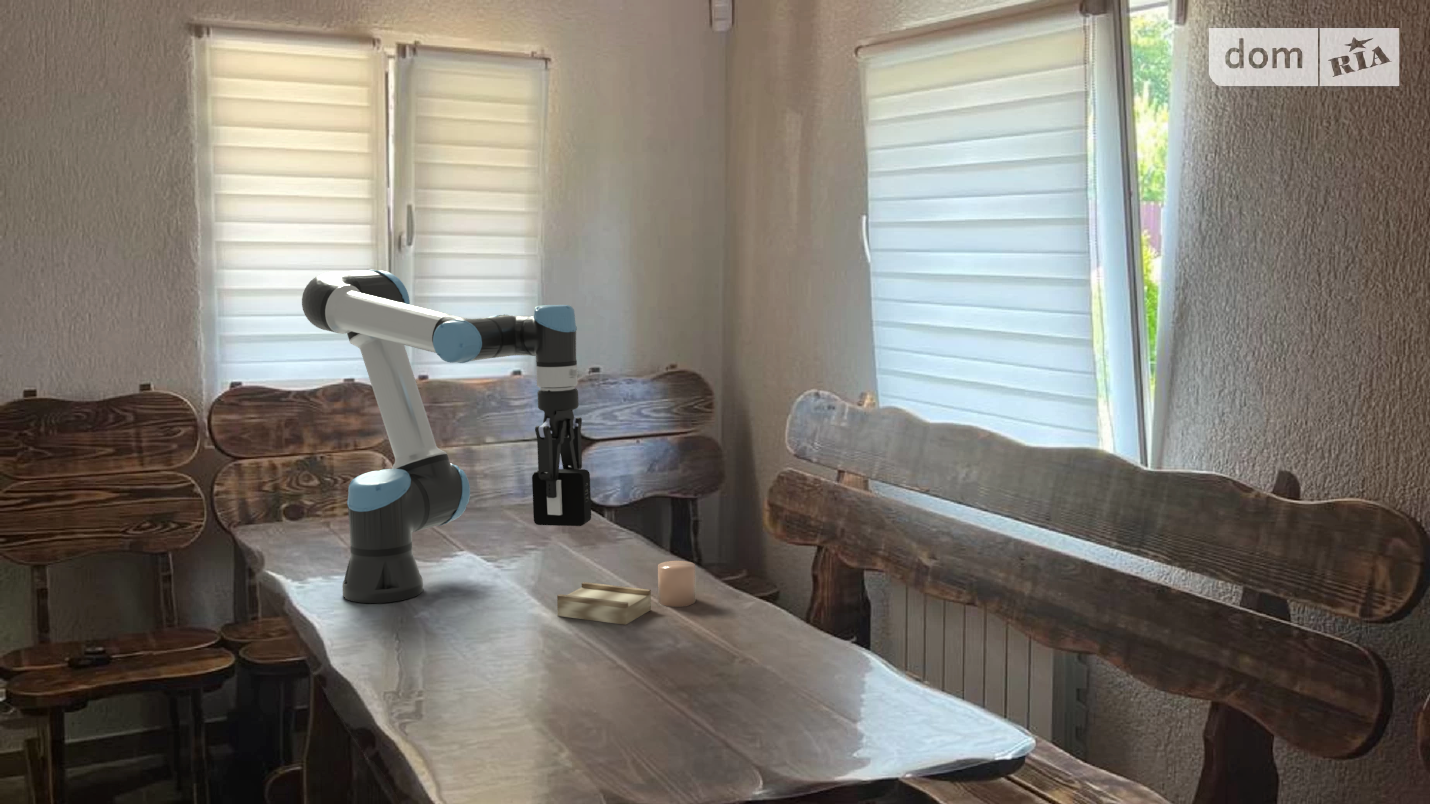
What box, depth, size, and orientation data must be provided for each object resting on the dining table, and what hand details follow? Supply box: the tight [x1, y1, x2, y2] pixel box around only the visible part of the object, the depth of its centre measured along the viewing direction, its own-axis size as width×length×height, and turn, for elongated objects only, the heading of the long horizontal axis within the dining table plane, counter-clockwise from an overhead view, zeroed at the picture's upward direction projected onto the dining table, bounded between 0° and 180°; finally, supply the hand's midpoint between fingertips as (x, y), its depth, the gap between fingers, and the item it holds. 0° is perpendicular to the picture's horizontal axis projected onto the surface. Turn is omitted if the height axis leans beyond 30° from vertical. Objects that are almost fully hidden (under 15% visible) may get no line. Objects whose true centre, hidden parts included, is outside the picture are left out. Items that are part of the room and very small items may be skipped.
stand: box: [556, 581, 652, 626], centre depth 240 cm, size 14×10×4 cm
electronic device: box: [531, 468, 592, 527], centre depth 245 cm, size 4×10×10 cm, turn 78°
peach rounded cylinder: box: [657, 560, 696, 608], centre depth 247 cm, size 7×7×7 cm
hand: (562, 511), depth 245 cm, fingers closed on electronic device, 5 cm apart
